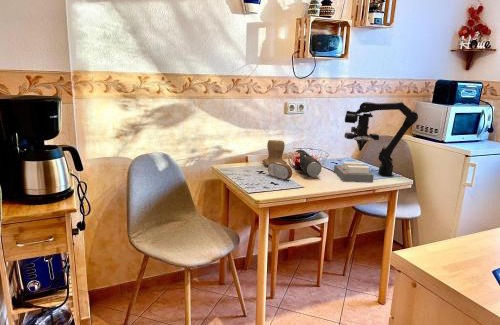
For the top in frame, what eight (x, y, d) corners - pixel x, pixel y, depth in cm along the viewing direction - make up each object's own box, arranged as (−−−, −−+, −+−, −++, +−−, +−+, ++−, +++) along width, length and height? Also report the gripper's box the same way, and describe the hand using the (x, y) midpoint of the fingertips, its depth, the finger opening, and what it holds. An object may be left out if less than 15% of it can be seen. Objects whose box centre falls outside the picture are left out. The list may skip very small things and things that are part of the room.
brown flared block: (279, 161, 235) (281, 137, 232) (289, 165, 225) (290, 141, 221) (257, 162, 229) (259, 138, 225) (266, 167, 219) (268, 142, 215)
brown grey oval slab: (292, 180, 196) (293, 165, 194) (288, 181, 194) (289, 166, 192) (270, 174, 206) (270, 159, 204) (266, 175, 204) (267, 160, 202)
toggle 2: (366, 171, 203) (367, 166, 202) (368, 173, 200) (369, 167, 199) (346, 171, 202) (347, 165, 201) (348, 172, 199) (348, 167, 198)
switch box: (360, 172, 218) (361, 165, 217) (372, 182, 200) (373, 174, 199) (333, 171, 217) (334, 164, 216) (343, 181, 199) (344, 173, 198)
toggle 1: (361, 168, 210) (362, 162, 209) (363, 169, 207) (364, 164, 206) (342, 167, 209) (343, 162, 208) (344, 169, 206) (344, 163, 205)
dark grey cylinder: (306, 165, 228) (308, 149, 225) (321, 179, 201) (323, 161, 198) (291, 165, 226) (292, 148, 224) (304, 179, 200) (306, 160, 197)
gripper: (374, 122, 222) (370, 148, 226) (343, 121, 221) (340, 147, 225) (381, 125, 212) (377, 152, 216) (348, 124, 211) (345, 151, 215)
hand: (359, 150), depth 218 cm, fingers closed
